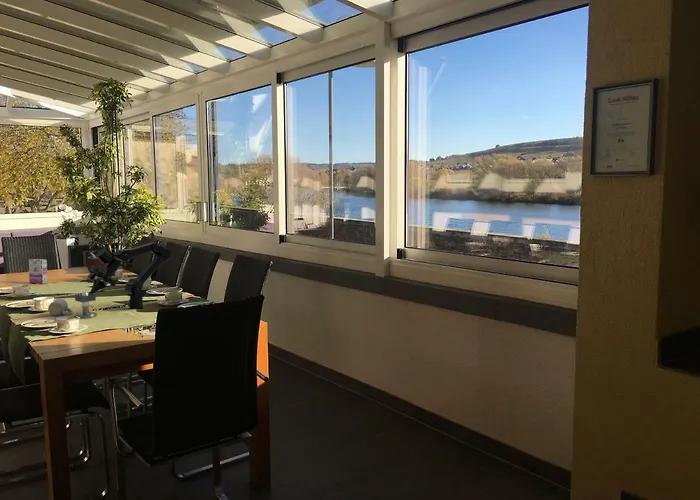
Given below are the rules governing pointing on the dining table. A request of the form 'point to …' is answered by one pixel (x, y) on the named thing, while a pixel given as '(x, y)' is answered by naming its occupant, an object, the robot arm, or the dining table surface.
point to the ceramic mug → (59, 307)
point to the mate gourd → (94, 262)
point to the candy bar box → (38, 271)
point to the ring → (85, 297)
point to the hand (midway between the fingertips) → (91, 293)
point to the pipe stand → (86, 309)
